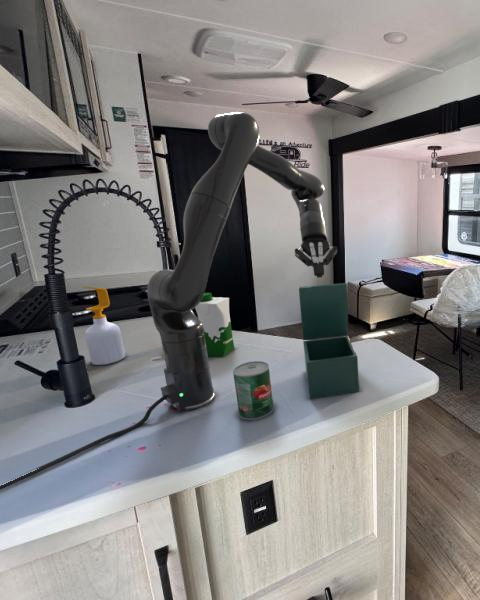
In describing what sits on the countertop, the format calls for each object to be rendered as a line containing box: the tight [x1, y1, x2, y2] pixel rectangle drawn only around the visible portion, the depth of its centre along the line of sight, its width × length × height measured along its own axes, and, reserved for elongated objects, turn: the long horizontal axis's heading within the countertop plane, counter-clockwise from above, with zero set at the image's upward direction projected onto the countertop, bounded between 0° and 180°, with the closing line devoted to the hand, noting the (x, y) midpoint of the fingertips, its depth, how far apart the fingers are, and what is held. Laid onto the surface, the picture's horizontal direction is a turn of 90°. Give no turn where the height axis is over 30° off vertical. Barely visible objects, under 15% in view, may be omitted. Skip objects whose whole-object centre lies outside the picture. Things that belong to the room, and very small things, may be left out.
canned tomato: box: [232, 360, 275, 421], centre depth 89 cm, size 8×8×11 cm
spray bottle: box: [82, 286, 126, 366], centre depth 121 cm, size 9×9×25 cm
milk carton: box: [194, 292, 235, 358], centre depth 125 cm, size 9×9×20 cm
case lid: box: [298, 282, 349, 341], centre depth 105 cm, size 16×13×1 cm
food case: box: [302, 335, 360, 399], centre depth 103 cm, size 16×13×10 cm
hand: (319, 275), depth 108 cm, fingers closed
